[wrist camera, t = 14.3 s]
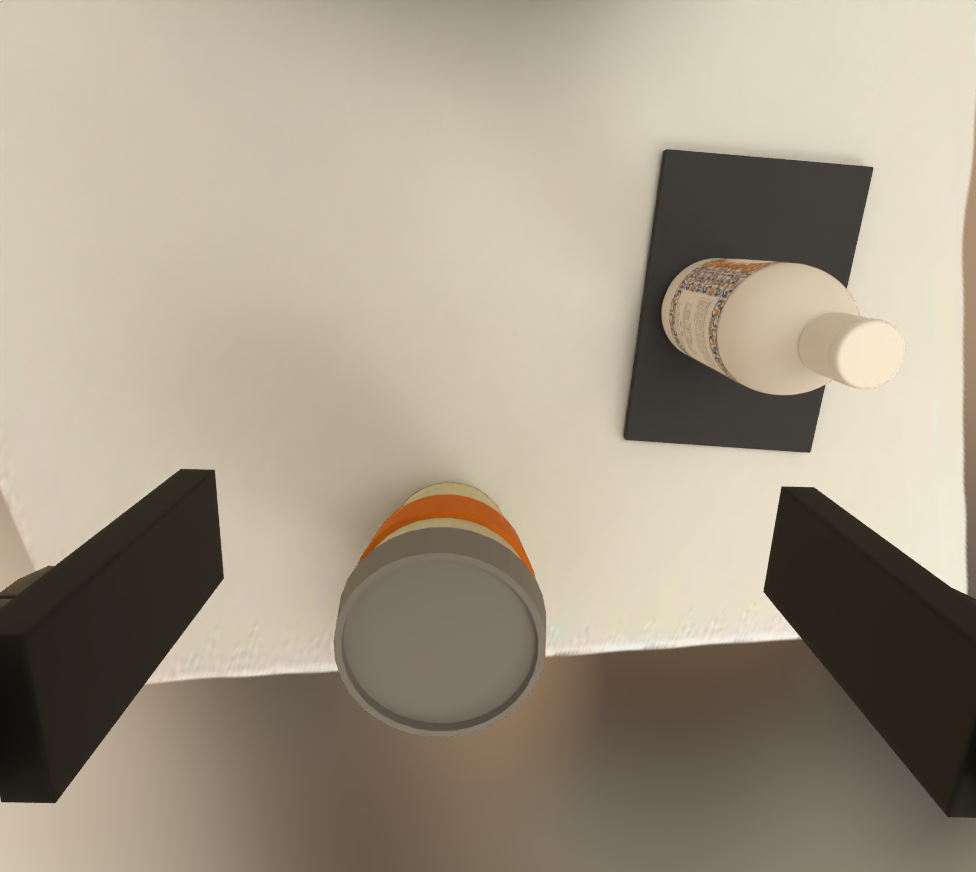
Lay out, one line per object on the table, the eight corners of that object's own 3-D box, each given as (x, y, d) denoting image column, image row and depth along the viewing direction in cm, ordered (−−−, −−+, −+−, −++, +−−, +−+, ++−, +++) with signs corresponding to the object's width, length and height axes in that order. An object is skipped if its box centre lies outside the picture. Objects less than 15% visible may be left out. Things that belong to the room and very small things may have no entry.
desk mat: (663, 150, 44) (666, 149, 44) (867, 168, 45) (874, 167, 44) (623, 437, 50) (625, 440, 49) (805, 449, 50) (810, 452, 50)
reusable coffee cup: (436, 427, 49) (420, 503, 35) (563, 525, 52) (596, 634, 37) (337, 546, 52) (284, 663, 38) (462, 635, 54) (457, 776, 40)
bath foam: (774, 276, 46) (988, 300, 27) (733, 370, 48) (906, 456, 29) (682, 243, 45) (834, 244, 26) (644, 340, 47) (760, 408, 28)
